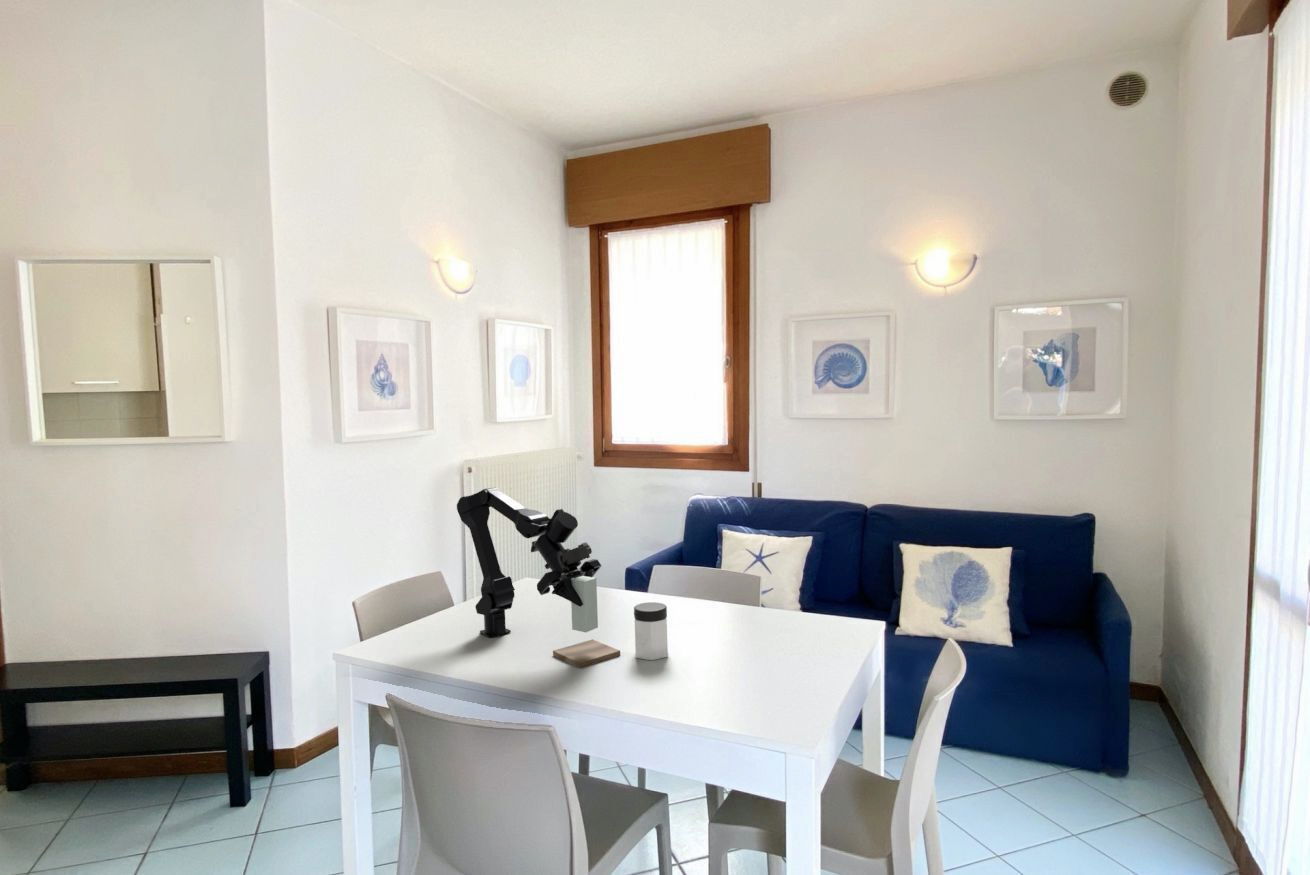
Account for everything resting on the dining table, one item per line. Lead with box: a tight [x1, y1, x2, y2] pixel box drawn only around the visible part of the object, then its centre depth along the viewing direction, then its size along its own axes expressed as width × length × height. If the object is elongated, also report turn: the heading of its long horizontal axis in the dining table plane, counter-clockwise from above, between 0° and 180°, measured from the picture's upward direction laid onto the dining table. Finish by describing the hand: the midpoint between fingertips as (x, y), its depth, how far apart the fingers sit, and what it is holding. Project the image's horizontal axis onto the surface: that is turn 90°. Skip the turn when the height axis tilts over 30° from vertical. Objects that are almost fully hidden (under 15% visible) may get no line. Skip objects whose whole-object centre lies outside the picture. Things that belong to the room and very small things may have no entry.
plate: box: [552, 639, 621, 669], centre depth 175 cm, size 12×12×1 cm
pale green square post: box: [570, 576, 599, 633], centre depth 174 cm, size 4×4×12 cm
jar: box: [633, 601, 669, 661], centre depth 174 cm, size 9×8×12 cm
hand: (588, 603), depth 173 cm, fingers closed on pale green square post, 4 cm apart
